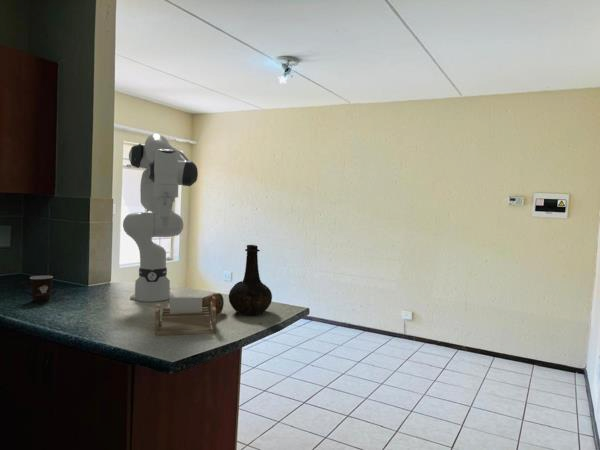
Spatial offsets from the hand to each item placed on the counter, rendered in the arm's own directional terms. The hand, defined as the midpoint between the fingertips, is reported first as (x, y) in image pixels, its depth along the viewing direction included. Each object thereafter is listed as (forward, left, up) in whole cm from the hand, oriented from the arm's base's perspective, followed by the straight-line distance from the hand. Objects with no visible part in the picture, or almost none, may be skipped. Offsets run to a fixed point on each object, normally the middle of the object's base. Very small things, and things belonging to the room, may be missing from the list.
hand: (165, 229), depth 168 cm
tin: (-3, +18, -34) cm, 39 cm away
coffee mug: (-37, -53, -34) cm, 73 cm away
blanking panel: (+14, +8, -33) cm, 37 cm away
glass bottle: (-6, +34, -34) cm, 49 cm away
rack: (+14, +8, -34) cm, 38 cm away
